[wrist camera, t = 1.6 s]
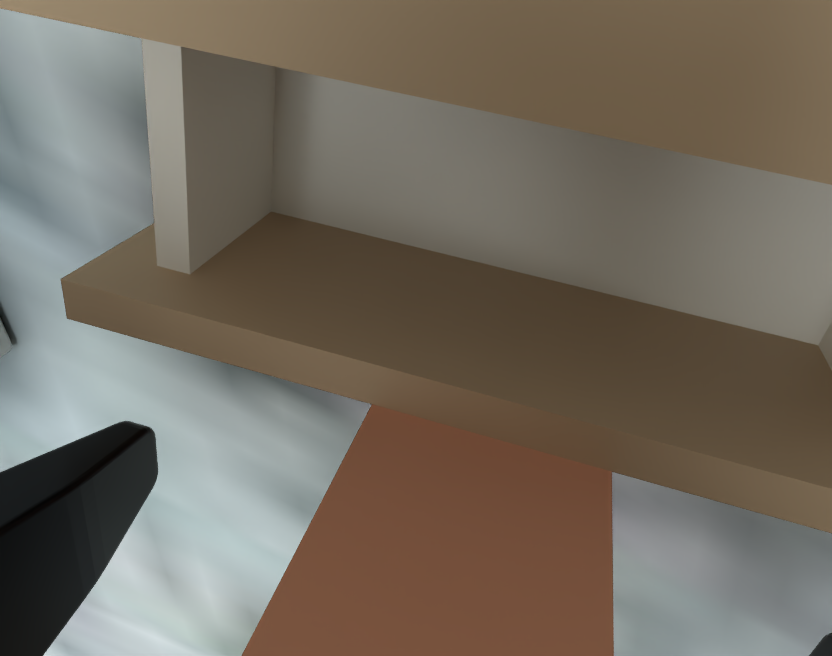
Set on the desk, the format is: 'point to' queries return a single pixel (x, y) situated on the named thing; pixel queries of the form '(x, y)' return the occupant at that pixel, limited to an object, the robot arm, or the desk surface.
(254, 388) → the desk surface
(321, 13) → the mailer sleeve
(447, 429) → the tray
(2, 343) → the medicine box
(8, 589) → the robot arm
